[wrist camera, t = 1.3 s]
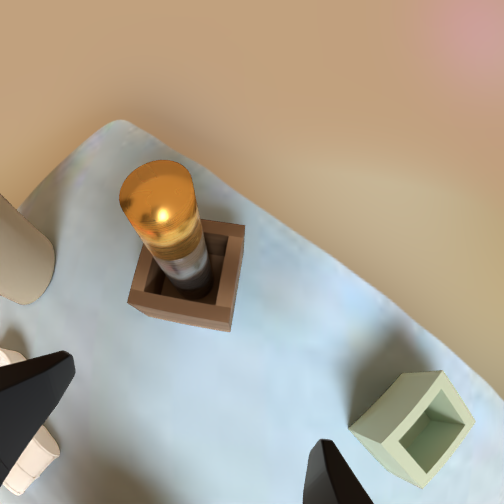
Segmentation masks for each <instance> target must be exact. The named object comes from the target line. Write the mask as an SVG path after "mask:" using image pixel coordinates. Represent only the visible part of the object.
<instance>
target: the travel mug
mask: <svg viewBox="0 0 504 504" xmlns="http://www.w3.org/2000/svg"><path fill="white" fill-rule="evenodd" d="M54 263H55V255H54V249H53V246H52V244H51V242H50V241H49V239H48V238H47V237H45V236H44V235H43V234H42V233H41V232H40V231H39V230H38V229H36V228H35V227H34V226H33V225H32V224H31V223H30V222H29V221H28V220H27V219H26V218H25V217H23V216H22V215H21V214H20V213H19V212H18V211H17V210H16V209H15V208H14V207H13V206H12V205H11V204H10V203H9V202H8V201H7V200H6V199H5V198H4V197H3V196H2V195H1V194H0V295H1V296H3V297H5V298H7V299H10V300H12V301H14V302H16V303H18V304H22V305H27V304H30V303H32V302H34V301H36V300H37V299H38V298H39V297H40V296H41V295H42V294H43V293H44V291H45V290H46V288H47V286H48V285H49V282H50V280H51V277H52V274H53V270H54Z"/></svg>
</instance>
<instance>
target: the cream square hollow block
mask: <svg viewBox="0 0 504 504" xmlns="http://www.w3.org/2000/svg"><path fill="white" fill-rule="evenodd" d="M475 422H476V421H475V420H474V418H473V416H472V415H471V413H470V411H469V410H468V408H467V406H466V405H465V403H464V402H463V400H462V399H461V397H460V395H459V394H458V392H457V391H456V389H455V388H454V386H453V385H452V383H451V382H450V380H449V379H448V377H447V376H446V374H445V373H444V371H443V370H440V371H429V372H415V373H402V374H401V375H400V376H399V377H398V378H397V379H396V381H395V382H394V383H393V384H392V385H391V386H390V387H389V388H388V389H387V391H386V392H385V393H384V394H383V395H382V396H381V397H380V398H379V399H378V400H377V401H376V402H375V403H374V404H373V405H372V406H371V407H370V408H369V409H368V410H367V411H366V412H365V413H364V414H363V415H362V416H361V417H360V418H359V419H358V420H357V421H356V422H355V423H354V424H353V425H352V426H351V427H349V428H348V429H349V430H350V432H351V433H352V434H353V435H354V436H355V437H356V438H357V439H358V440H359V441H360V443H361V444H362V445H363V446H364V447H365V448H366V449H367V450H368V451H369V452H370V453H371V454H372V455H373V457H374V458H375V459H376V460H377V461H378V462H379V463H380V464H381V465H382V466H383V467H384V468H385V469H386V470H387V471H388V472H390V473H392V474H394V475H396V476H397V477H399V478H401V479H403V480H405V481H407V482H409V483H411V484H413V485H415V486H417V487H419V488H421V489H423V488H424V487H425V486H426V485H427V484H428V482H429V481H430V480H431V479H432V478H433V477H434V476H435V475H436V474H437V472H438V471H439V470H440V469H441V468H442V467H443V465H444V464H445V463H446V462H447V460H448V459H449V458H450V457H451V455H452V454H453V453H454V452H455V450H456V449H457V448H458V446H459V445H460V444H461V442H462V441H463V439H464V438H465V437H466V435H467V434H468V432H469V431H470V429H471V428H472V426H473V425H474V423H475Z"/></svg>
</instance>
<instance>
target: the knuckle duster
mask: <svg viewBox="0 0 504 504" xmlns="http://www.w3.org/2000/svg"><path fill="white" fill-rule="evenodd" d="M25 360H26V359H25V357H24V356H23V355H22V354H20V353H19V352H16V351H12V350H7V349H3V348H0V367H1V366H5V365H9V364H13V363H17V362H21V361H25ZM59 456H60V450H59V447H58V445H57V443H56V441H55V440H54V438H53V437H52V436H51V435H50V433H49V432H48V431H47V429H46V428H45V427H44V426H43V425H42V426H41V427H40V429H39V430H38V431H37V433H36V434H35V436H34V437H33V438H32V440H31V441H30V443H29V444H28V446H27V447H26V448H25V450H24V451H23V453H22V454H21V456H20V457H19V459H18V460H17V462H16V463H15V465H14V466H13V468H12V469H11V471H10V473H9V474H8V476H7V477H6V479H5V480H4V482H3V485H4V486H5V487H6V488H7V489H8V490H9V491H11V492H12V493H13V494H15V495H18V496H19V495H21V494H23V493H24V492H25V490H26V489H27V488H28V487H29V486H30V485H31V483H32V482H33V481H34V480H35V479H37V478H39V477H40V474H41V473H42V472H43V471H44V470H45V469H46V468H47V467H48V466H49V465H50V464H51V462H52V461H53V460H54V459H56V458H58V457H59Z"/></svg>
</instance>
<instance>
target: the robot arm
mask: <svg viewBox="0 0 504 504" xmlns="http://www.w3.org/2000/svg"><path fill="white" fill-rule="evenodd" d="M74 375H75V365H74V359H73V356H72V355H71V354H69V353H68V352H66V351H59V352H55V353H51V354H48V355H44V356H40V357H36V358H33V359H29V360H25V361H21V362H17V363H13V364H9V365H5V366H1V367H0V487H1V485H2V484H3V482H4V480H5V479H6V477H7V476H8V474H9V473H10V471H11V469H12V468H13V466H14V465H15V463H16V462H17V460H18V459H19V457H20V456H21V454H22V453H23V451H24V450H25V448H26V447H27V446H28V444H29V443H30V441H31V440H32V438H33V437H34V436H35V434H36V433H37V431H38V430H39V429H40V427H41V426H42V424H43V423H44V422H45V420H46V419H47V418H48V416H49V415H50V414H51V412H52V411H53V410H54V408H55V407H56V406H57V404H58V403H59V401H60V399H61V398H62V396H63V394H64V392H65V391H66V389H67V387H68V386H69V384H70V382H71V381H72V379H73V377H74ZM303 504H374V503H373V502H372V500H371V499H370V497H369V496H368V494H367V493H366V491H365V490H364V488H363V487H362V485H361V484H360V482H359V481H358V479H357V478H356V476H355V475H354V473H353V472H352V470H351V469H350V467H349V466H348V464H347V462H346V461H345V459H344V458H343V456H342V455H341V453H340V452H339V450H338V448H337V447H336V445H335V444H334V442H333V441H332V440H329V439H320V440H319V441H318V442H317V443H316V445H315V446H314V447H313V449H312V450H311V452H310V454H309V459H308V466H307V472H306V478H305V484H304V491H303Z"/></svg>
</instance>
